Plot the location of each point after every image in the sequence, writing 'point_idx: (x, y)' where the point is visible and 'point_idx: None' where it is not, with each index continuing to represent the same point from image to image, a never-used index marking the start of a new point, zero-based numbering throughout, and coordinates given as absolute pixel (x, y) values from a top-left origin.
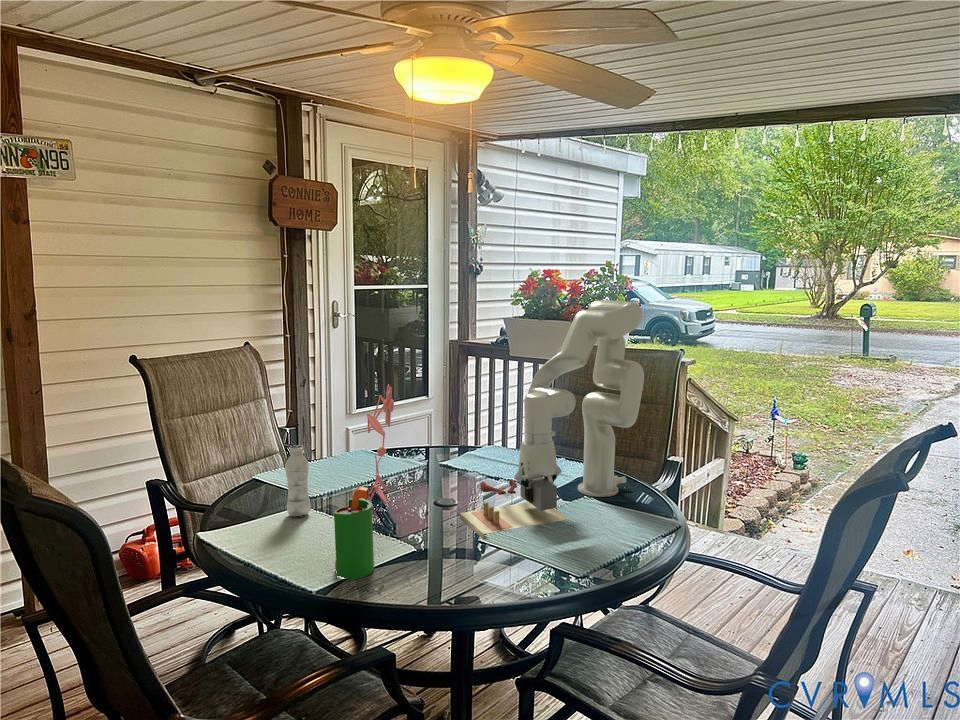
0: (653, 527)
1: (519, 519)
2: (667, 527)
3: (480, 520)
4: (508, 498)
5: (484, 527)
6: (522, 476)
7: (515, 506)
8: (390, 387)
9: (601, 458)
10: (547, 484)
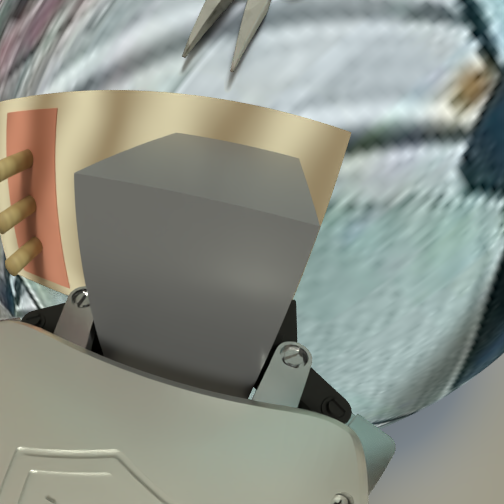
0: (393, 406)
1: None
2: (406, 410)
3: (9, 193)
4: (216, 4)
5: (12, 241)
6: (82, 213)
7: (165, 122)
8: None
9: None
10: None
